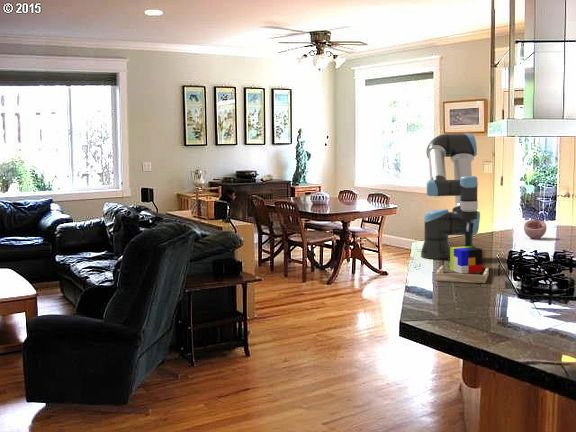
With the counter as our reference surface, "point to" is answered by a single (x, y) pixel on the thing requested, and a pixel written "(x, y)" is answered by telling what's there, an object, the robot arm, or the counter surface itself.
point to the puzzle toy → (466, 259)
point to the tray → (461, 276)
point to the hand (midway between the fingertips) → (468, 261)
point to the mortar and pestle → (535, 228)
